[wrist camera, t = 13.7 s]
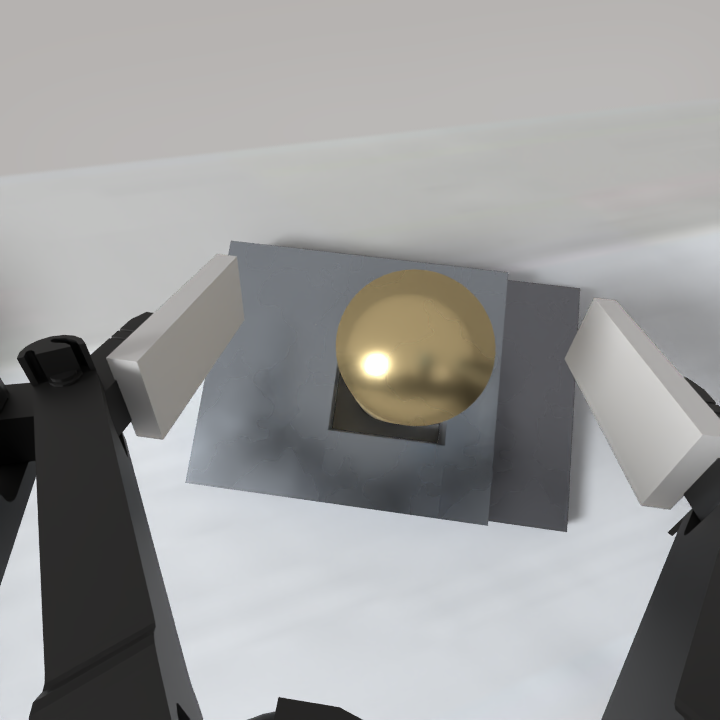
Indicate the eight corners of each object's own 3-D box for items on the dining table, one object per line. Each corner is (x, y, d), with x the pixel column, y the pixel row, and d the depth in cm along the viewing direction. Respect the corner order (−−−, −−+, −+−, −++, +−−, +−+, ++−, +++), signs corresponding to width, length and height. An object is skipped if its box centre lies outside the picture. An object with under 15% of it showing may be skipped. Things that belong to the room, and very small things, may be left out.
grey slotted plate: (495, 285, 21) (508, 272, 19) (475, 514, 20) (487, 525, 18) (243, 256, 22) (230, 240, 20) (203, 476, 20) (185, 482, 18)
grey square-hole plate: (569, 294, 21) (579, 288, 20) (557, 526, 19) (566, 532, 18) (314, 264, 22) (311, 257, 21) (279, 487, 20) (275, 490, 19)
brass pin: (433, 351, 21) (501, 278, 10) (425, 427, 20) (488, 436, 9) (358, 342, 21) (346, 261, 10) (348, 417, 21) (325, 414, 10)
